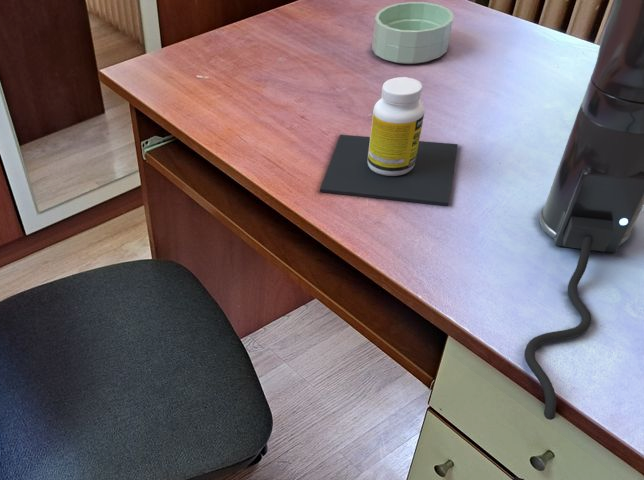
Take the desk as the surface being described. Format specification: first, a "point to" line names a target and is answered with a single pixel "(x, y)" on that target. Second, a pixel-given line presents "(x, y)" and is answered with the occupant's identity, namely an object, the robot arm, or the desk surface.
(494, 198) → the desk surface
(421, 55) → the bowl
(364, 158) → the mat
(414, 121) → the pill bottle
